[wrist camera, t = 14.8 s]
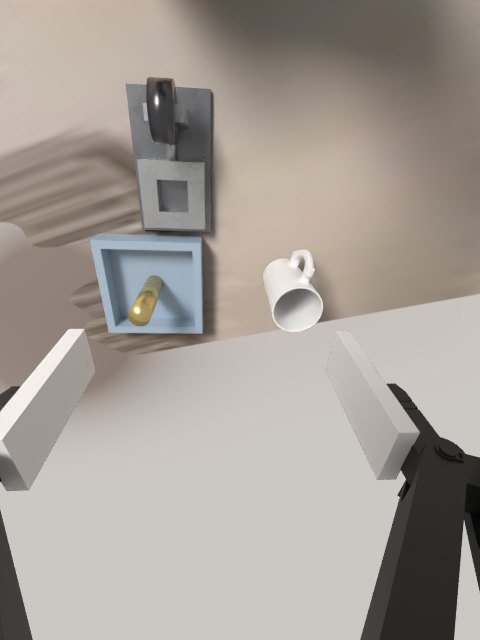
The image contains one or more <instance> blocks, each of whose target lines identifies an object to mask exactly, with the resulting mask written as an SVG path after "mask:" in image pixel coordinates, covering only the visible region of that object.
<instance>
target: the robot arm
mask: <svg viewBox="0 0 480 640" xmlns="http://www.w3.org/2000/svg"><path fill="white" fill-rule="evenodd" d="M326 372H327V374H328V377H329V379H330V381H331V383H332V385H333V387H334V389H335V391H336V393H337V395H338V398H339V400H340V402H341V404H342V406H343V408H344V410H345V413H346V414H347V417H348V419H349V421H350V423H351V425H352V427H353V429H354V431H355V434H356V436H357V438H358V440H359V442H360V444H361V446H362V449H363V451H364V453H365V455H366V457H367V459H368V461H369V463H370V465H371V468H372V470H373V472H374V474H375V476H376V478H377V480H390V479H396V478H397V476H398V474H399V472H400V470H401V471H402V473H403V474H404V476H405V478H406V481H405V482H404V484H403V486H402V488H401V490H400V492H399V493H398V496H399V497H400V499H399V502H398V506H397V510H396V513H395V517H394V521H393V524H392V528H391V531H390V535H389V538H388V542H387V546H386V549H385V553H384V556H383V560H382V564H381V567H380V571H379V574H378V578H377V582H376V585H375V589H374V592H373V596H372V600H371V603H370V607H369V610H368V614H367V618H366V621H365V625H364V628H363V632H362V636H361V640H454V631H455V619H456V607H457V595H458V583H459V571H460V559H461V546H462V534H463V522H464V521H465V526H466V530H467V535H468V540H469V544H470V549H471V554H472V558H473V563H474V568H475V572H476V576H477V581H478V586H479V590H480V458H479V457H475V456H471V455H467V454H465V453H464V452H463V450H462V449H461V448H460V447H458V446H457V445H456V444H454V443H453V442H451V441H449V440H447V439H444V438H441V437H439V435H438V434H437V433H436V432H435V430H434V429H433V427H432V426H431V425H430V424H429V422H428V421H427V420H426V418H425V417H424V416H423V414H422V413H421V412H420V410H418V408H417V406H416V405H415V404H414V403H413V402H412V400H411V398H410V397H409V396H408V395H407V393H406V392H405V391H404V390H403V389H401V388H400V387H399V386H397V385H396V384H386V383H385V382H384V380H383V379H382V377H381V376H380V375H379V373H378V372H377V370H376V369H375V367H374V366H373V365H372V363H371V362H370V361H369V359H368V357H367V356H366V355H365V353H364V352H363V350H362V349H361V347H360V346H359V345H358V343H357V342H356V340H355V339H354V337H353V336H352V335H351V333H350V332H349V331H335V335H334V339H333V343H332V347H331V351H330V356H329V360H328V364H327V368H326ZM94 373H95V369H94V365H93V361H92V357H91V353H90V349H89V345H88V341H87V337H86V333H85V329H69V330H68V331H67V332H66V333H65V334H64V336H63V337H62V338H61V339H60V340H59V342H58V343H57V344H56V345H55V346H54V348H53V349H52V350H51V351H50V353H49V354H48V355H47V356H46V357H45V358H44V360H43V361H42V362H41V363H40V365H39V366H38V367H37V368H36V369H35V370H34V372H33V373H32V374H31V375H30V377H29V378H28V379H27V380H26V381H25V382H24V384H23V385H22V386H17V387H16V386H14V387H13V386H12V387H11V388H9V389H8V390H6V391H5V392H4V393H2V394H0V482H2V484H3V486H4V487H5V489H6V490H7V491H21V490H29V489H30V487H31V486H32V484H33V482H34V480H35V478H36V477H37V475H38V473H39V471H40V469H41V467H42V466H43V464H44V462H45V460H46V459H47V457H48V455H49V453H50V451H51V450H52V448H53V446H54V444H55V443H56V441H57V439H58V437H59V435H60V433H61V431H62V430H63V428H64V426H65V425H66V423H67V421H68V419H69V417H70V415H71V414H72V412H73V410H74V408H75V407H76V405H77V403H78V401H79V399H80V398H81V396H82V394H83V392H84V390H85V389H86V387H87V385H88V383H89V382H90V380H91V378H92V376H93V374H94ZM0 640H33V639H32V635H31V631H30V627H29V623H28V619H27V615H26V612H25V607H24V603H23V599H22V595H21V591H20V588H19V583H18V579H17V575H16V571H15V567H14V563H13V560H12V555H11V551H10V547H9V543H8V540H7V535H6V532H5V527H4V523H3V519H2V515H1V511H0Z"/></svg>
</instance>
